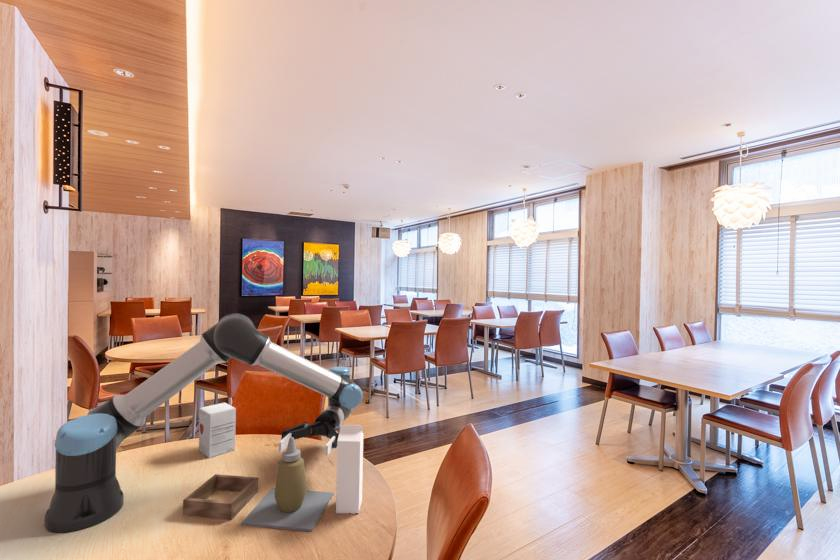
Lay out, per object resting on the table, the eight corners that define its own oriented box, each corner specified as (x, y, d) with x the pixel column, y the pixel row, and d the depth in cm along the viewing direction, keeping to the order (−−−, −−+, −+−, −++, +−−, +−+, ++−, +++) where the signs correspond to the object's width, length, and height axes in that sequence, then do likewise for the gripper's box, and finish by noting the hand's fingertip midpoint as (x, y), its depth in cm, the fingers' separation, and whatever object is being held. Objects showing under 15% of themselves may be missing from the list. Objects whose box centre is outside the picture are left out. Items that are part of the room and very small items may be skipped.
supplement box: (197, 450, 135) (198, 407, 134) (224, 442, 141) (225, 401, 141) (208, 458, 129) (209, 413, 129) (235, 450, 136) (236, 407, 135)
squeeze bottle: (296, 517, 97) (297, 446, 97) (267, 513, 99) (268, 442, 99) (311, 499, 105) (313, 433, 105) (284, 496, 107) (286, 430, 107)
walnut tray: (182, 515, 98) (183, 499, 98) (215, 488, 111) (215, 474, 111) (231, 520, 97) (231, 504, 97) (258, 491, 110) (258, 477, 110)
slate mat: (241, 525, 95) (241, 522, 95) (272, 489, 111) (272, 487, 111) (311, 531, 93) (311, 529, 93) (333, 494, 109) (333, 492, 109)
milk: (340, 500, 106) (341, 420, 106) (362, 500, 106) (363, 420, 106) (335, 513, 100) (337, 428, 100) (359, 514, 100) (360, 429, 100)
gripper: (365, 434, 128) (346, 465, 107) (293, 429, 131) (260, 459, 110) (365, 412, 128) (346, 438, 107) (293, 407, 131) (261, 432, 110)
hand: (302, 448), depth 108 cm, fingers open, 13 cm apart
